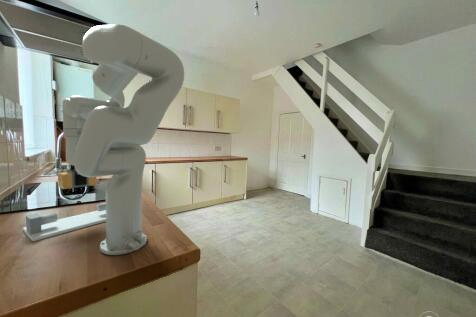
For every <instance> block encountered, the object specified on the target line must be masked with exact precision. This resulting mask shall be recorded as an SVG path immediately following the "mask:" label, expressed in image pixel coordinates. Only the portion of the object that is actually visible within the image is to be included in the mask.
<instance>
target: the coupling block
mask: <svg viewBox="0 0 476 317" xmlns="http://www.w3.org/2000/svg"><path fill="white" fill-rule="evenodd" d="M75 174H76V169H69V168H68V169H66V171H64V172H57V186H58V188H60V189H62V190H67V189H68V190H69V189H74V188H75V189H76V188H81V187H89V186H90V187H91V186H96V185H97V177H87V184H86V185H79V186H76V185H75Z"/></svg>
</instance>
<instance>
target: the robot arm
mask: <svg viewBox="0 0 476 317" xmlns="http://www.w3.org/2000/svg"><path fill="white" fill-rule="evenodd" d="M82 38H83V39H82V42H81V43H82V44H81V48H82V53H83V55H84V57H85V58H86V59H87V60H89V61H90V62H92V63H95V64H98V65H97V67H96V68H95V70H94V71H93V72H92V76H91V78H92V81H93V83H94V85H95V86H96V87H97V89H98V90H100V91H101V92H103V93H104V94H105V95H106V96H109V97H110V98H109V99H108V100H103V99H98V98H93V97H88V96H84V95H71V96H70V97H69V98H68V97H67V98H64V99H63V100H62V131H63V133H62V134H63V138H64V139H66V142H65V162H66V164H68V165H69V166H68V167H69V168H68V169H76V174H75V185H76V186H79V185H86V184H87V177H96V178H99V177H106V176H107V177H108V176H111V178H110V179H109V181H108V182H107V185H106V188H105V203H106V221H105V239H103V240H102V241H101V242H100V244H99V251H100V252H101V253H103V254H104V255H108V256H109V255H110V256H118V255H119V256H120V255H126V254H129V253H133V252H135V251H138V250H140V248H143V247H144V246H145V245H146V243H147V242H148V237H147V235H146V234H145V233H144V232H143V230H142V229H143V228H142V227H143V226H142V218H143V215H142V214H143V213H142V212H143V209H142V208H143V207H142V206H143V201H142V200H143V197H142V196H143V195H142V194H143V177H144V170H145V165H146V162H147V161H146V160H147V156H146V155H147V154H146V151H145V149H144V147H143V145H146V144H148V143H149V142H151V140H152V139H153V137H154V135H155V134H156V132H157V130H158V128H159V126H160V125H161V122H162V121H163V119H164V116H165V114H166V112H167V111H168V109H169V107H170V106H171V104H172V103H173V101H174V100H175V99H176V97H177V96H178V94H179V93H180V91H181V89H182V87H183V84H184V80H185V68H184V64H183V61H182V60H181V59H180V57H179V56H178V55H177V54H176V53H175V52H174V51H173V50H171V49H170V48H168V47H167V46H165V45H163V44H161V43H160V42H158V41H156V40H154V39H152V38H150V37H148V36H146V35H145V34H143V33H141V32H139V31H137V30H135V29H134V28H131V27H130V26H127V25H124V24H115V23H114V24H102V25H101V24H100V25H96V26H93V27H91V28H90V29H89V30H88V31H86V33H85V35H84V36H83V37H82ZM138 74H140V75H144V76H146V77H150V78H151V80H150V81H148V82H146V83H144V84H142V85H141V86H140V87H139V88H138V89H137V90H136V91H135V92H134V94H133V96H132V99H131V100H130V103H129V104H128V106H126V107H125V95H124V91H125V89H126V88H127V87H128V86H129V84H130V83H131V82H133V80H134V79H135V78H136V77H137V75H138Z"/></svg>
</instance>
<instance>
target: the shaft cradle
mask: <svg viewBox="0 0 476 317" xmlns="http://www.w3.org/2000/svg"><path fill="white" fill-rule="evenodd" d="M25 222H26V223H25V224H26V226H24V227H22V231H23V232H24V234H26V235H27V237H28V238H29V239H30V240H31V242H36V241H39V240H42V239H48V238H50V237H54V236H58V235H61V234H64V233H65V234H66V233H68V232H71V231H76V230H80V229H83V228H86V227H89V226H94V225H98V224H101V223H104V222H105V223H106V202H103V203H97V204H96V210H93V211H90V212H84V213H80V214H76V215H72V216H67V217H62V218H58V215H57V213H56V212H53V213H49V214H43V215H40V214H38V212H37V213H31V214H26V215H25Z"/></svg>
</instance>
